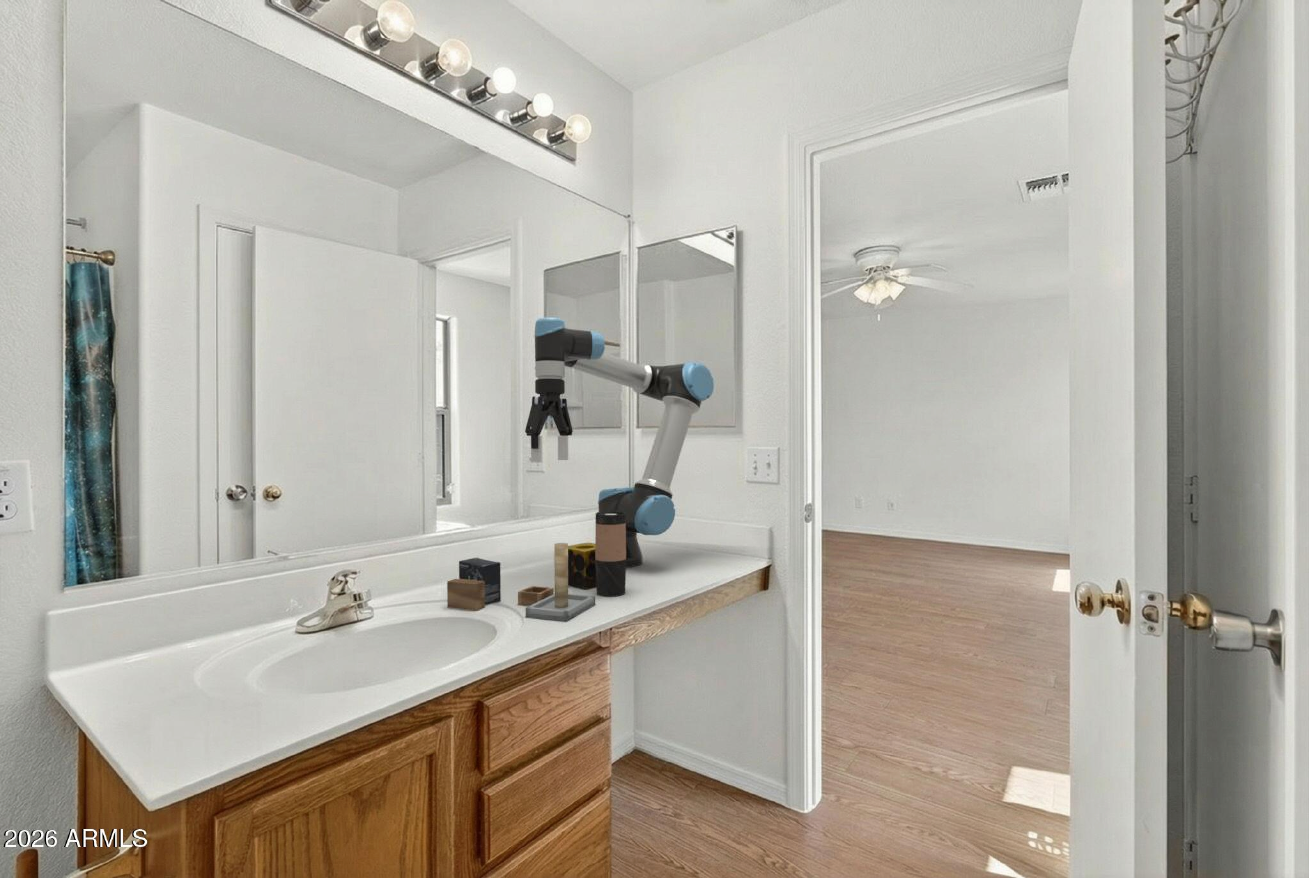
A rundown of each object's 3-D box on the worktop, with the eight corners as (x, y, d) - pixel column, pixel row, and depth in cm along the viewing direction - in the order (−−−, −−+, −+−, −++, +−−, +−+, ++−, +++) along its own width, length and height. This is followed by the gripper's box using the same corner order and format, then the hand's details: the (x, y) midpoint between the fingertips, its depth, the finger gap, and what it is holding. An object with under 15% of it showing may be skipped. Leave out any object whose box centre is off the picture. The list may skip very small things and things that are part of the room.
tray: (557, 600, 150) (557, 592, 150) (595, 604, 146) (595, 596, 146) (525, 617, 137) (525, 607, 137) (566, 621, 133) (566, 612, 133)
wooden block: (455, 604, 147) (455, 578, 147) (484, 607, 144) (484, 581, 144) (447, 607, 144) (447, 581, 144) (476, 610, 142) (476, 584, 142)
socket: (531, 598, 152) (531, 585, 152) (553, 600, 150) (553, 587, 150) (518, 604, 147) (518, 591, 147) (540, 606, 144) (540, 593, 144)
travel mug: (621, 597, 152) (621, 515, 152) (591, 596, 154) (591, 514, 154) (629, 590, 160) (629, 511, 160) (600, 588, 161) (600, 510, 161)
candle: (614, 583, 167) (614, 546, 167) (585, 590, 160) (585, 551, 160) (589, 577, 174) (589, 541, 174) (560, 584, 167) (560, 546, 167)
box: (458, 600, 151) (457, 560, 151) (477, 595, 156) (477, 556, 155) (482, 606, 145) (481, 565, 145) (501, 601, 150) (501, 561, 150)
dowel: (558, 603, 143) (558, 542, 143) (570, 605, 142) (570, 543, 142) (552, 607, 141) (551, 544, 140) (564, 608, 139) (563, 545, 139)
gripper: (560, 382, 175) (560, 459, 175) (510, 375, 152) (510, 463, 152) (584, 382, 173) (585, 459, 173) (537, 374, 149) (538, 463, 149)
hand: (550, 461), depth 162 cm, fingers open, 13 cm apart
